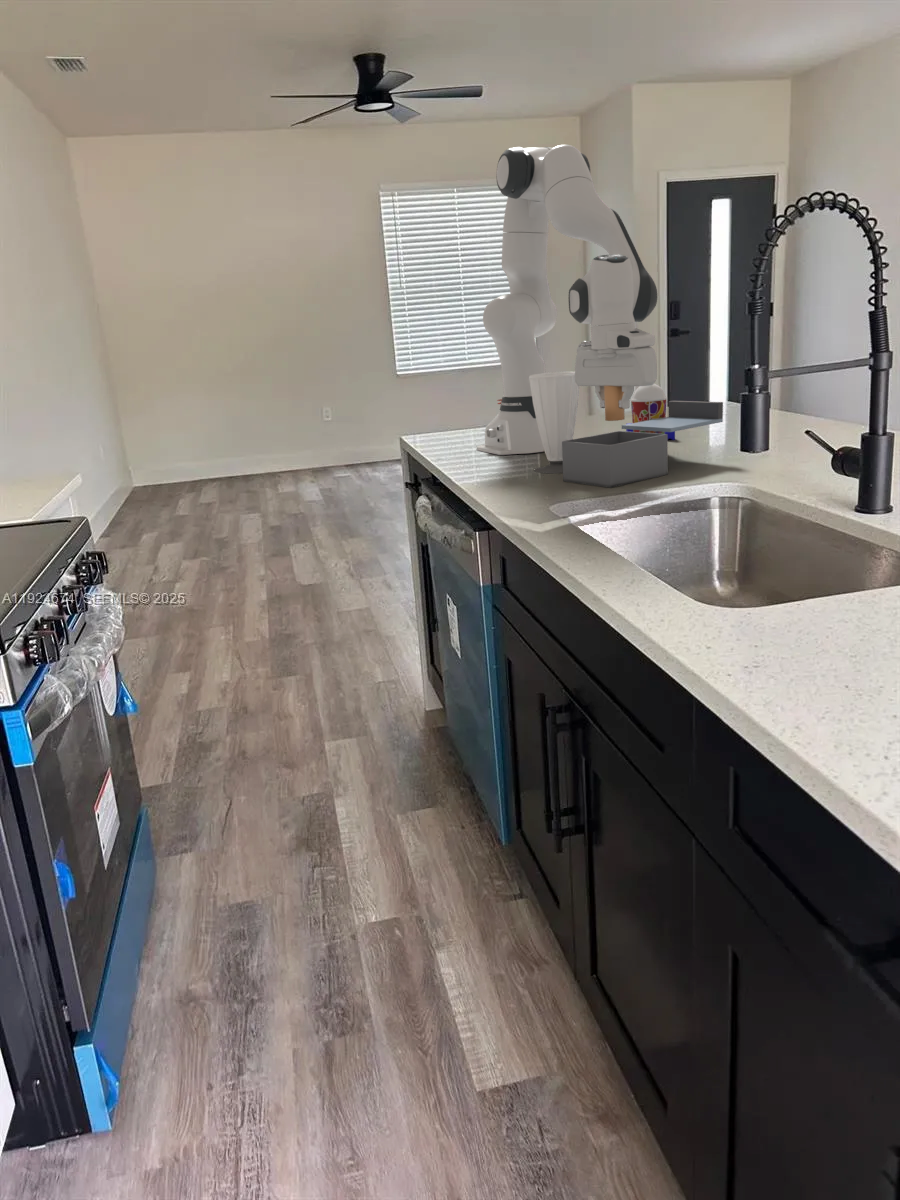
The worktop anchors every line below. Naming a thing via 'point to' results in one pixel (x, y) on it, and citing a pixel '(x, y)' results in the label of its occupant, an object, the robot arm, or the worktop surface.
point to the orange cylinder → (613, 403)
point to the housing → (615, 458)
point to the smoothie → (648, 405)
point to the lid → (683, 417)
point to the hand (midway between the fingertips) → (614, 408)
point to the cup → (554, 413)
